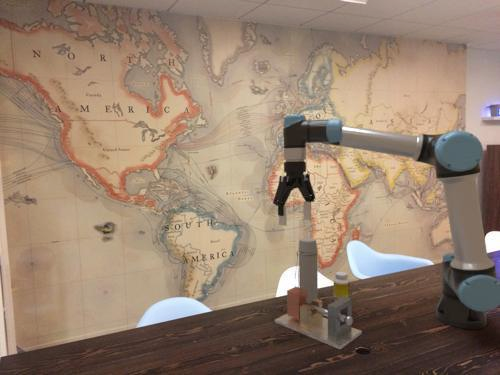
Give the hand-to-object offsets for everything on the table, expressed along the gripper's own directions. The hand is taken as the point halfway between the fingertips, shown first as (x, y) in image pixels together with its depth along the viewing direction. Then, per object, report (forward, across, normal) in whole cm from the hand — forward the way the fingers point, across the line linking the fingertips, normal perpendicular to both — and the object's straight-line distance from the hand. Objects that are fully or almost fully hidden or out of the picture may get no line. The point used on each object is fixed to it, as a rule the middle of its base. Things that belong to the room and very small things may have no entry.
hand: (295, 222), depth 122 cm
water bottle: (+35, -16, -8) cm, 40 cm away
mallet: (+33, 0, +10) cm, 35 cm away
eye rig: (+35, 0, +8) cm, 36 cm away
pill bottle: (+35, -26, +2) cm, 44 cm away
